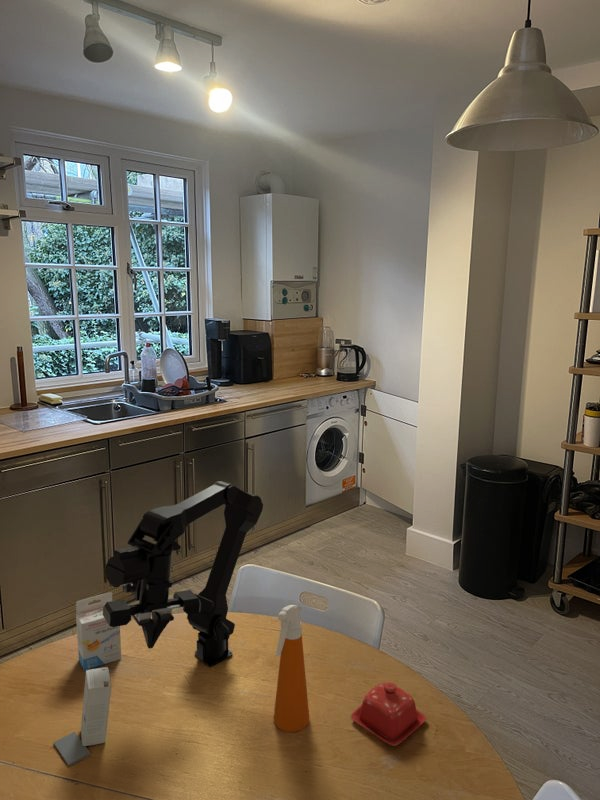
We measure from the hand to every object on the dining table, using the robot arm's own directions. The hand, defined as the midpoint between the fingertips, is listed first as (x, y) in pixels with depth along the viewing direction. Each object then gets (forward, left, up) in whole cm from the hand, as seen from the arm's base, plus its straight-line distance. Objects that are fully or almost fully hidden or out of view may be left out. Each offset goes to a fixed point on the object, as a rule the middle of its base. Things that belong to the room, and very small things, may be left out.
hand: (149, 647), depth 122 cm
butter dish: (-31, +37, -12) cm, 50 cm away
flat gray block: (+18, +2, -12) cm, 22 cm away
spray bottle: (-16, +25, -12) cm, 32 cm away
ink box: (+2, -19, -12) cm, 23 cm away
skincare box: (+14, +2, -12) cm, 18 cm away
